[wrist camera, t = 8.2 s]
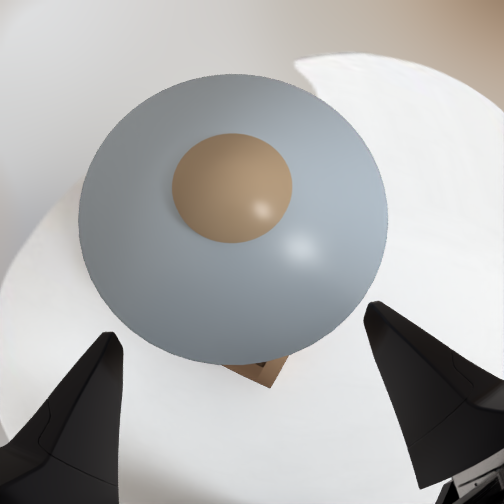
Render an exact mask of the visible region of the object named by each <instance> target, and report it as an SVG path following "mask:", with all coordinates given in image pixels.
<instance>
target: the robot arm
mask: <svg viewBox="0 0 504 504" xmlns="http://www.w3.org/2000/svg"><path fill="white" fill-rule="evenodd" d="M363 321H364V326H365V329H366V333H367V336H368V339H369V342H370V346H371V349H372V353H373V356H374V359H375V362H376V364H377V367H378V369H379V371H380V374H381V376H382V379H383V381H384V384H385V387H386V389H387V392H388V394H389V397H390V400H391V402H392V405H393V408H394V410H395V413H396V416H397V419H398V422H399V424H400V427H401V430H402V433H403V436H404V439H405V442H406V445H407V448H408V452H409V455H410V458H411V462H412V465H413V468H414V472H415V475H416V479H417V482H418V486H419V488H420V489H423V488H426V487H429V486H431V485H434V484H436V483H439V482H441V481H443V480H446V479H448V478H450V477H452V480H450V481H449V482H447V483H446V484H444V485H443V487H442V490H441V492H440V494H439V496H438V499H437V501H436V503H435V504H504V380H502V379H500V378H498V377H496V376H494V375H492V374H491V373H489V372H487V371H485V370H484V369H482V368H480V367H478V366H477V365H475V364H473V363H472V362H470V361H468V360H467V359H465V358H464V357H462V356H461V355H459V354H458V353H457V352H455V351H454V350H452V349H450V348H449V347H448V346H446V345H445V344H443V343H442V342H441V341H439V340H438V339H436V338H435V337H433V336H432V335H430V334H429V333H427V332H426V331H424V330H423V329H421V328H420V327H418V326H417V325H415V324H414V323H412V322H411V321H409V320H408V319H406V318H405V317H403V316H402V315H400V314H399V313H397V312H396V311H394V310H393V309H391V308H390V307H388V306H387V305H385V304H384V303H382V302H380V301H374V302H370V303H369V304H368V306H367V309H366V312H365V316H364V320H363ZM122 391H123V347H122V345H121V343H120V341H119V340H118V338H117V336H116V334H115V333H114V332H103V333H102V334H101V335H100V336H99V337H98V338H97V339H96V341H95V342H94V343H93V344H92V345H91V346H90V347H89V349H88V350H87V351H86V352H85V353H84V354H83V356H82V357H81V358H80V359H79V360H78V361H77V363H76V364H75V365H74V366H73V367H72V369H71V370H70V371H69V372H68V373H67V375H66V376H65V377H64V378H63V379H62V381H61V382H60V383H59V384H58V386H57V387H56V388H55V389H54V391H53V392H52V393H51V394H50V396H49V397H48V399H46V401H45V402H44V403H43V405H42V406H41V407H40V408H39V409H38V411H37V412H36V413H35V414H34V416H33V417H32V418H31V419H30V420H29V421H28V422H27V423H26V425H25V426H24V427H23V428H22V429H21V430H20V431H19V432H18V433H17V434H16V436H15V437H14V438H13V439H12V440H11V441H10V442H9V443H8V444H6V445H5V446H3V447H0V504H119V495H118V446H119V427H120V413H121V402H122Z"/></svg>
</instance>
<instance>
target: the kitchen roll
mask: <svg viewBox="0 0 504 504" xmlns="http://www.w3.org/2000/svg"><path fill="white" fill-rule="evenodd" d="M78 223H79V238H80V244H81V249H82V254H83V258H84V261H85V264H86V267H87V270H88V272H89V275H90V278H91V280H92V281H93V283H94V285H95V287H96V289H97V291H98V292H99V294H100V296H101V297H102V299H103V300H104V301H105V303H106V304H107V305H108V307H109V308H110V309H111V311H112V312H113V313H114V314H115V315H116V316H117V317H118V318H119V319H120V320H121V321H122V322H123V323H124V324H125V325H126V326H127V327H128V328H129V329H130V330H132V331H133V332H134V333H136V334H137V335H139V336H140V337H142V338H143V339H144V340H146V341H147V342H149V343H151V344H153V345H154V346H156V347H158V348H160V349H163V350H165V351H167V352H169V353H171V354H174V355H177V356H180V357H183V358H186V359H189V360H193V361H198V362H204V363H210V364H217V365H246V364H254V363H261V362H267V361H271V360H274V359H278V358H281V357H284V356H288V355H291V354H293V353H295V352H297V351H299V350H302V349H304V348H306V347H308V346H310V345H312V344H314V343H315V342H317V341H318V340H320V339H321V338H323V337H324V336H326V335H327V334H329V333H330V332H332V331H333V330H334V329H335V328H336V327H337V326H338V325H340V324H341V323H342V322H343V321H344V320H345V319H346V318H347V317H348V316H349V315H350V314H351V313H352V312H353V310H354V309H355V308H356V307H357V305H358V304H359V303H360V302H361V300H362V299H363V298H364V296H365V294H366V293H367V291H368V289H369V288H370V286H371V284H372V283H373V281H374V278H375V276H376V274H377V271H378V269H379V266H380V264H381V261H382V257H383V253H384V249H385V245H386V239H387V229H388V209H387V200H386V194H385V189H384V185H383V181H382V178H381V175H380V172H379V169H378V167H377V165H376V162H375V160H374V158H373V156H372V154H371V152H370V150H369V149H368V147H367V146H366V144H365V142H364V141H363V139H362V138H361V137H360V135H359V134H358V133H357V132H356V130H355V129H354V128H353V127H352V126H351V124H350V123H349V122H348V121H347V120H346V119H345V118H344V117H342V116H341V115H340V114H339V113H338V112H337V111H336V110H334V109H333V108H332V107H331V106H329V105H328V104H327V103H325V102H324V101H322V100H321V99H319V98H317V97H316V96H314V95H312V94H311V93H309V92H307V91H305V90H302V89H300V88H298V87H296V86H294V85H291V84H288V83H285V82H282V81H279V80H275V79H271V78H266V77H261V76H253V75H242V74H225V75H214V76H207V77H202V78H197V79H193V80H189V81H186V82H183V83H180V84H177V85H174V86H172V87H170V88H167V89H165V90H163V91H161V92H159V93H157V94H155V95H154V96H152V97H150V98H148V99H147V100H145V101H144V102H143V103H141V104H140V105H138V106H137V107H136V108H134V109H133V110H132V111H131V112H130V113H128V114H127V115H126V116H125V117H124V118H123V119H122V120H121V121H120V122H119V123H118V124H117V125H116V126H115V127H114V129H113V130H112V131H111V132H110V133H109V134H108V136H107V137H106V139H105V140H104V142H103V143H102V145H101V146H100V148H99V150H98V151H97V153H96V155H95V157H94V159H93V161H92V162H91V165H90V167H89V170H88V172H87V175H86V178H85V181H84V184H83V188H82V193H81V198H80V205H79V218H78Z"/></svg>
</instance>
